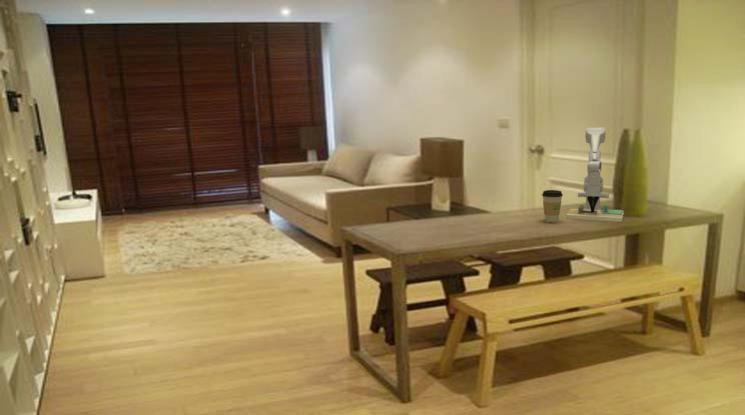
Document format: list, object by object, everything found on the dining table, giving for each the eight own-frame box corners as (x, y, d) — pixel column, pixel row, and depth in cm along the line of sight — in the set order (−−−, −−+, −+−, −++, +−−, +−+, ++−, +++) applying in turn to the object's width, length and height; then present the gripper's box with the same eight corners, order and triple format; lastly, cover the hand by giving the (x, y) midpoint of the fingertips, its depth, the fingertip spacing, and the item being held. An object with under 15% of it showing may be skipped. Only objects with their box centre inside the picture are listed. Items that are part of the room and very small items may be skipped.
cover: (603, 211, 311) (603, 203, 311) (622, 212, 308) (622, 204, 307) (601, 215, 303) (602, 206, 303) (621, 216, 300) (621, 207, 299)
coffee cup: (564, 223, 299) (565, 192, 296) (544, 223, 299) (544, 193, 296) (558, 218, 308) (559, 189, 306) (539, 219, 309) (539, 190, 306)
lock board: (570, 212, 323) (570, 206, 322) (623, 215, 312) (623, 209, 311) (566, 218, 308) (566, 212, 308) (621, 221, 298) (622, 215, 297)
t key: (580, 210, 317) (580, 204, 316) (597, 211, 313) (598, 205, 313) (578, 213, 309) (578, 208, 308) (596, 214, 305) (596, 209, 305)
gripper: (577, 185, 304) (576, 212, 306) (608, 186, 298) (607, 214, 300) (579, 183, 310) (578, 209, 313) (609, 184, 304) (608, 211, 307)
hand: (592, 211), depth 307 cm, fingers closed
